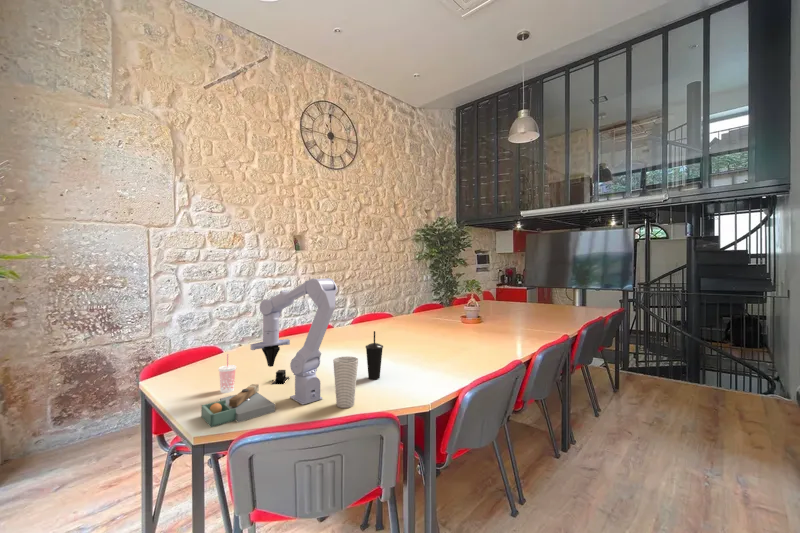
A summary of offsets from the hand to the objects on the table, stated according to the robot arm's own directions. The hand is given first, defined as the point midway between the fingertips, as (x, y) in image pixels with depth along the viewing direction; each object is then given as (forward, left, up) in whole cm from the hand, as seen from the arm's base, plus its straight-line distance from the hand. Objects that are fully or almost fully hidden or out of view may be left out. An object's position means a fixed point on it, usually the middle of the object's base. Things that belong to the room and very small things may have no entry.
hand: (270, 366), depth 131 cm
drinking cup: (-15, -39, -10) cm, 43 cm away
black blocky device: (+9, -8, -10) cm, 16 cm away
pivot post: (-9, +13, -9) cm, 18 cm away
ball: (-11, +22, -7) cm, 25 cm away
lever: (-9, +13, -7) cm, 17 cm away
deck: (-11, +13, -9) cm, 19 cm away
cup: (-31, -13, -10) cm, 35 cm away
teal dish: (-13, +22, -9) cm, 27 cm away
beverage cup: (+11, +12, -10) cm, 19 cm away
